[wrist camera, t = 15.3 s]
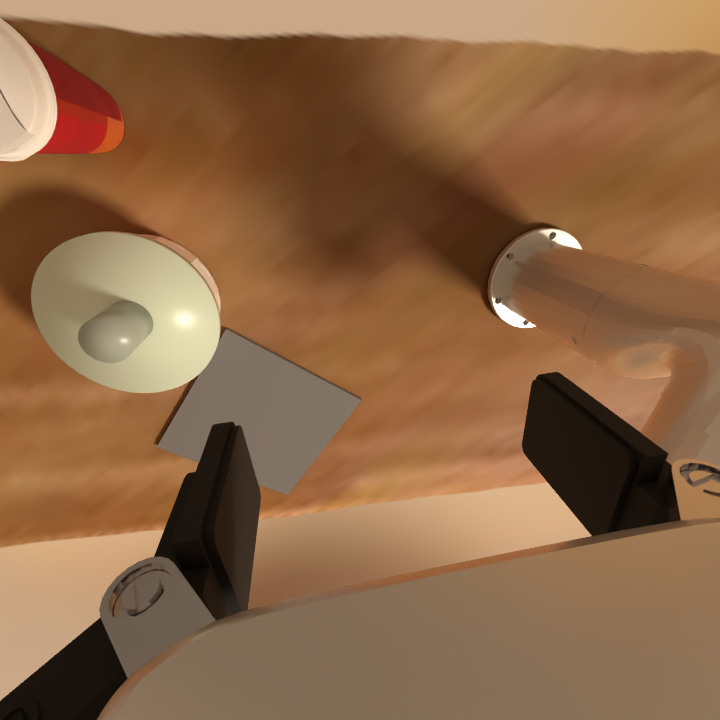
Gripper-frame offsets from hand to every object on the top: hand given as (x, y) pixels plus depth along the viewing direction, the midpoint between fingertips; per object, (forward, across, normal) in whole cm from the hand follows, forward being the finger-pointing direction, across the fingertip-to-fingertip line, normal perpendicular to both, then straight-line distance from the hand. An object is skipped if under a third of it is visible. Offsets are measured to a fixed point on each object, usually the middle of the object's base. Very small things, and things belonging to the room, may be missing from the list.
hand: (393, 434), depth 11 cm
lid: (+27, +20, +3) cm, 34 cm away
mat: (+33, +12, +22) cm, 41 cm away
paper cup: (+34, +20, -14) cm, 41 cm away
